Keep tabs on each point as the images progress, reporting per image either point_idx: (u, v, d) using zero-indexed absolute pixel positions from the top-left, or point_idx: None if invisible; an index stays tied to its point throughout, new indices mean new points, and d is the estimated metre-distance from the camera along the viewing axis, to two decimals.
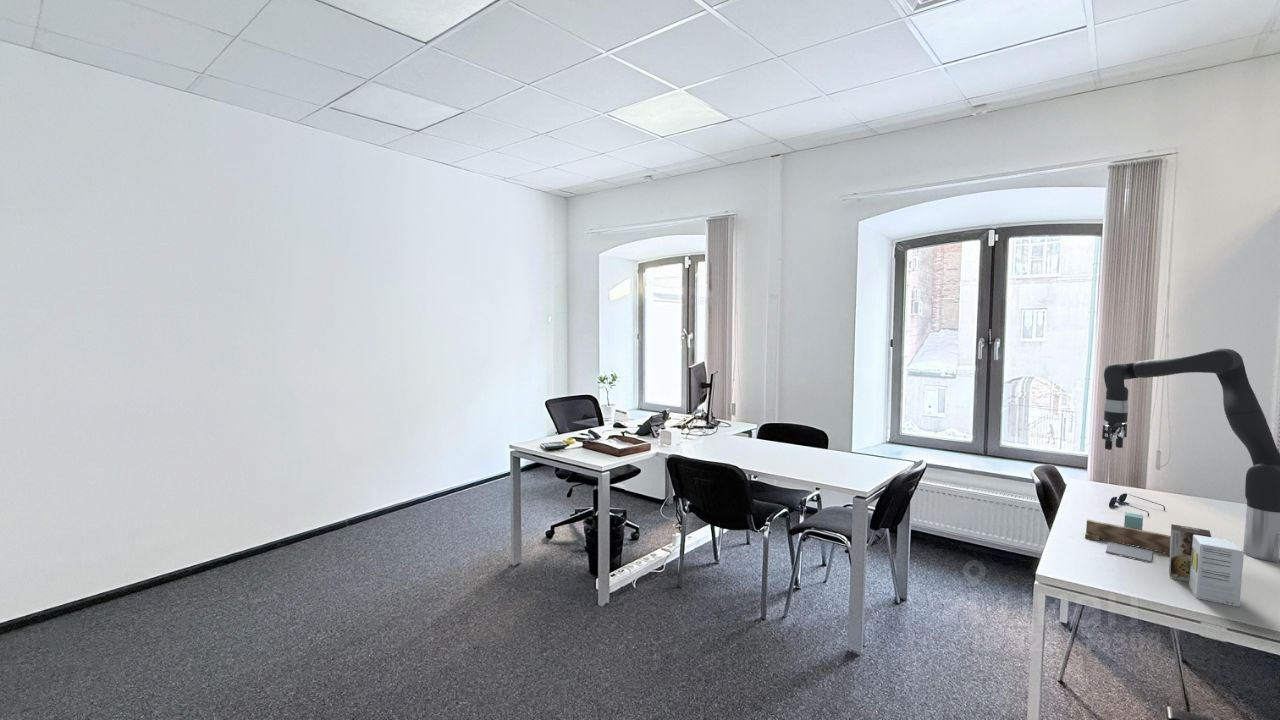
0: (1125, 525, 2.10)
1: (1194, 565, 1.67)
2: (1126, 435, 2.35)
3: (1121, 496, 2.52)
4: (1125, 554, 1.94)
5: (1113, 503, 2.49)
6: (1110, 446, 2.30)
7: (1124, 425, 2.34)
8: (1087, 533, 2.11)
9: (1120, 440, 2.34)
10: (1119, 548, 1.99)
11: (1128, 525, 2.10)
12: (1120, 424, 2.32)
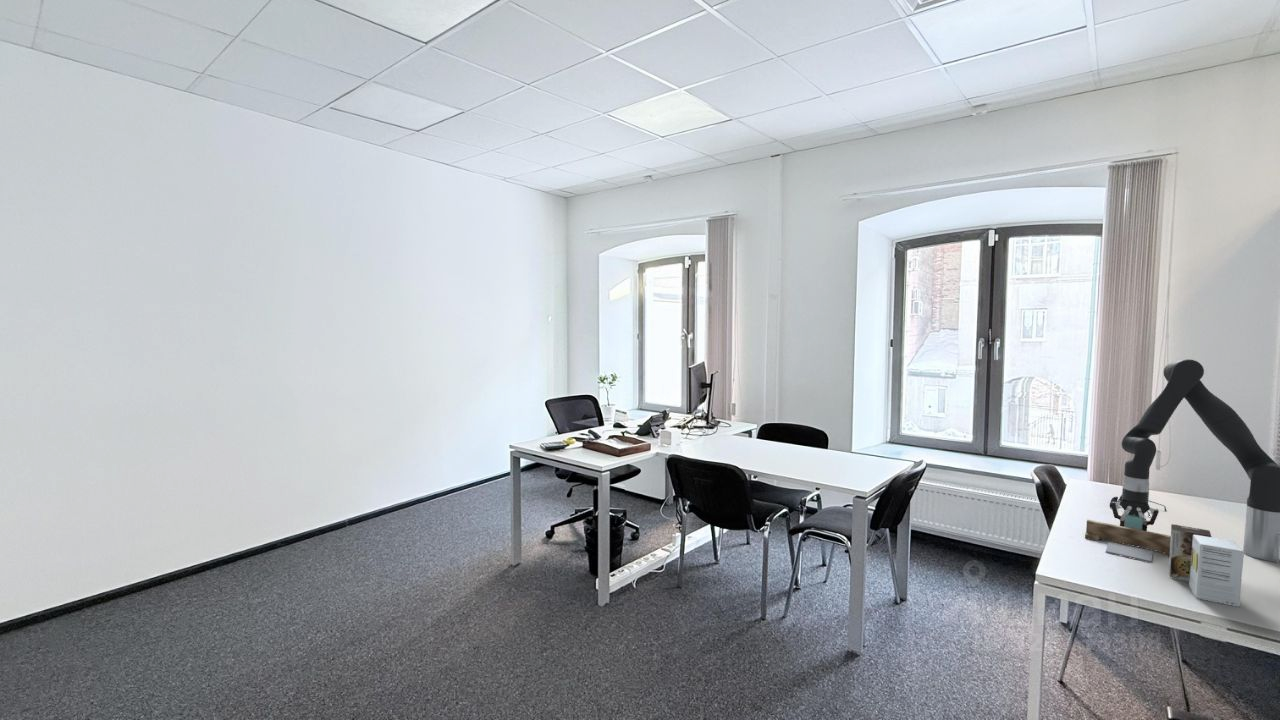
0: (1125, 525, 2.10)
1: (1194, 565, 1.67)
2: None
3: None
4: (1125, 554, 1.94)
5: None
6: None
7: None
8: (1087, 533, 2.11)
9: None
10: (1119, 548, 1.99)
11: (1128, 525, 2.10)
12: None
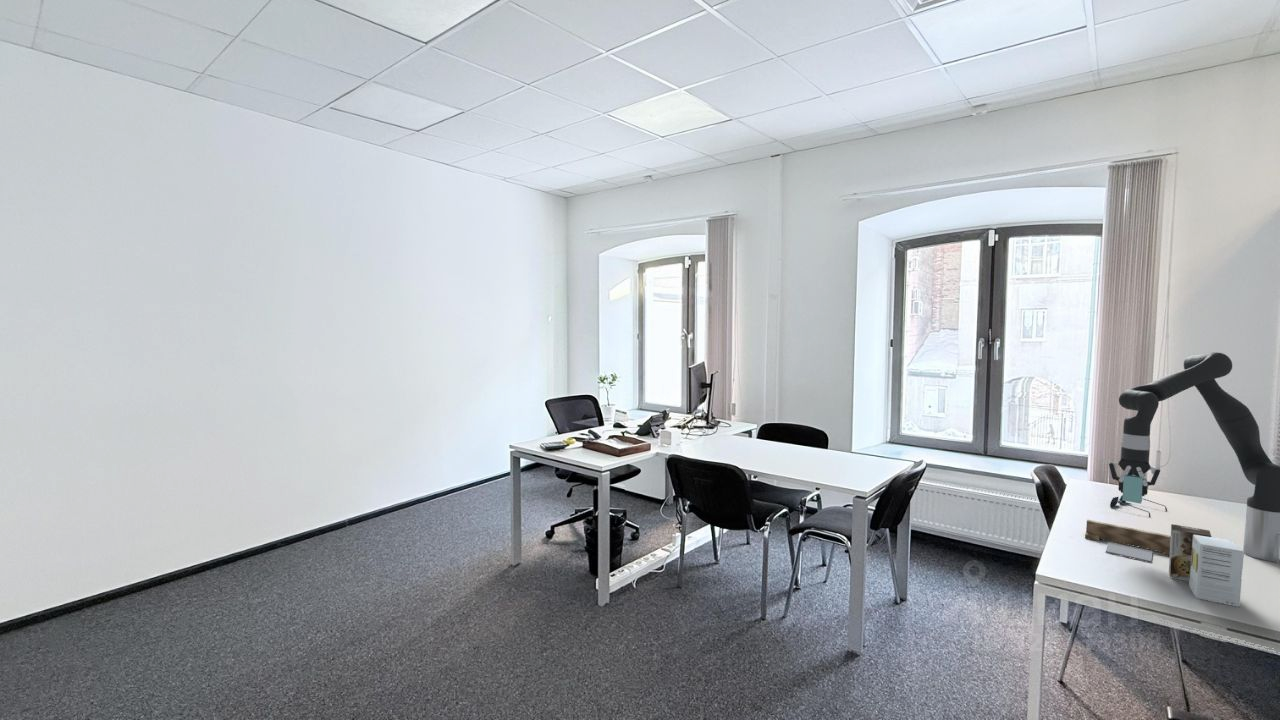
0: (1124, 486, 1.96)
1: (1194, 565, 1.67)
2: None
3: None
4: (1125, 554, 1.94)
5: (1114, 503, 2.49)
6: None
7: None
8: (1087, 533, 2.11)
9: None
10: (1119, 548, 1.99)
11: (1127, 486, 1.95)
12: None
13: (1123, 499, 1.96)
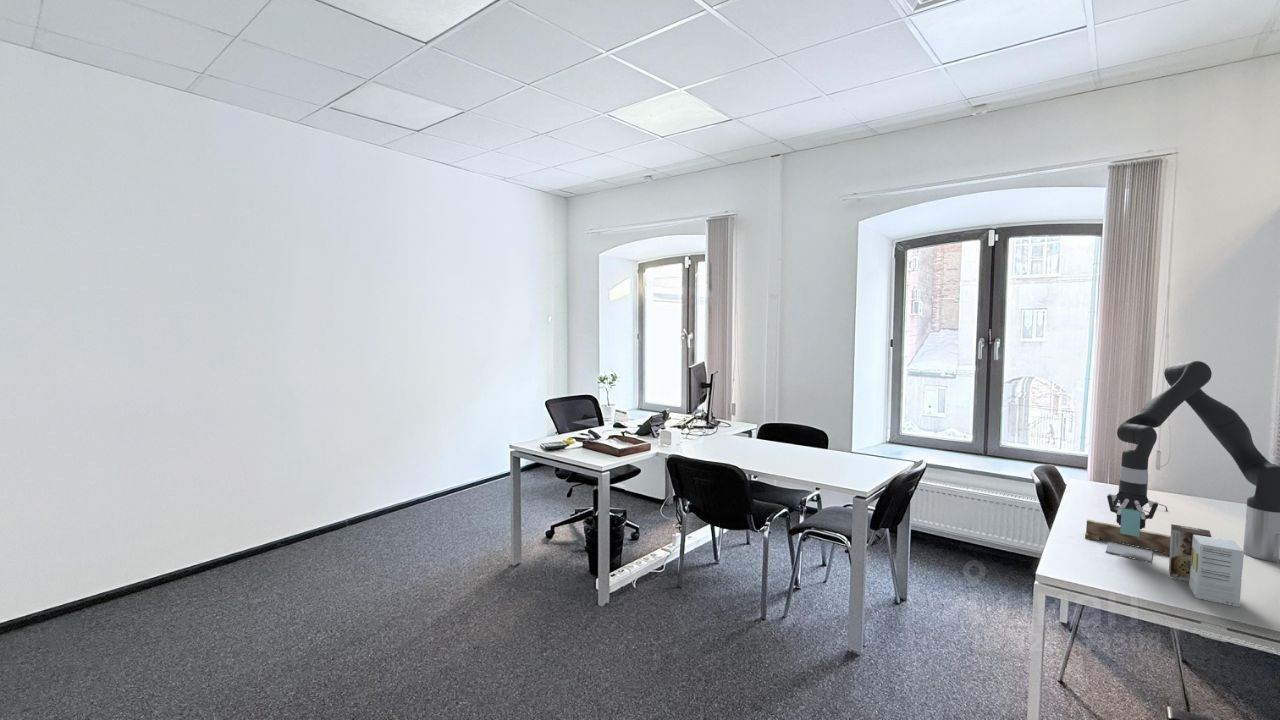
0: (1122, 519, 1.96)
1: (1194, 565, 1.67)
2: None
3: None
4: (1125, 554, 1.94)
5: (1115, 503, 2.48)
6: None
7: None
8: (1087, 533, 2.11)
9: None
10: (1119, 548, 1.99)
11: (1125, 519, 1.96)
12: None
13: (1121, 532, 1.97)
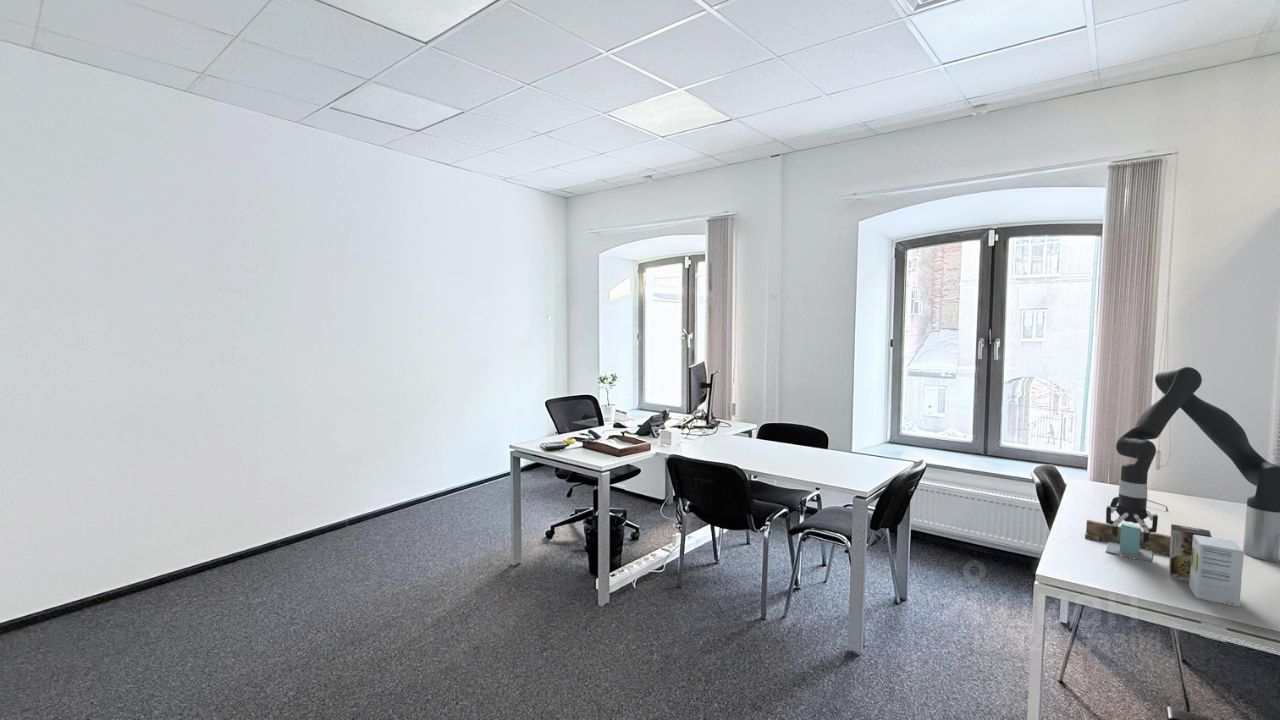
0: (1121, 537, 1.97)
1: (1194, 565, 1.67)
2: None
3: None
4: (1125, 554, 1.94)
5: (1115, 503, 2.48)
6: None
7: None
8: (1087, 533, 2.11)
9: (1117, 528, 1.99)
10: (1119, 548, 1.99)
11: (1124, 537, 1.96)
12: None
13: (1120, 550, 1.97)
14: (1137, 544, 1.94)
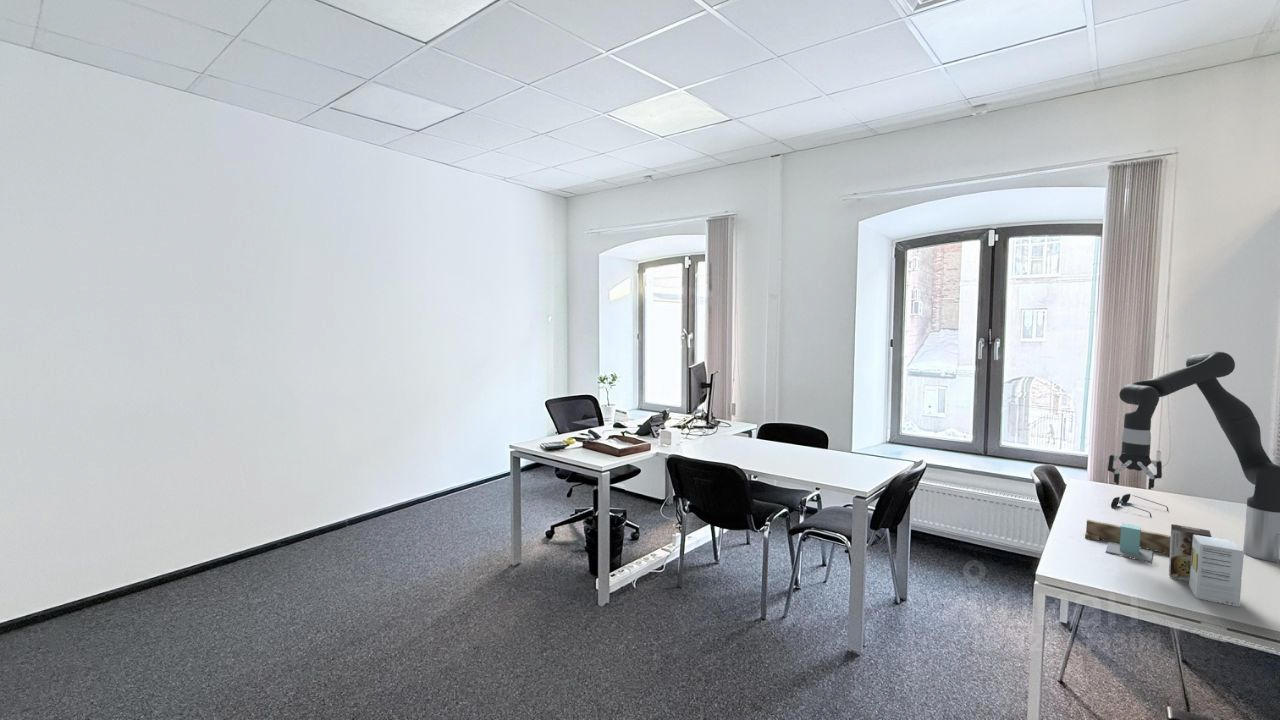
0: (1121, 537, 1.97)
1: (1194, 565, 1.67)
2: None
3: (1124, 496, 2.51)
4: (1125, 554, 1.94)
5: (1115, 503, 2.48)
6: None
7: None
8: (1087, 533, 2.11)
9: (1119, 475, 1.99)
10: (1119, 548, 1.99)
11: (1124, 537, 1.96)
12: None
13: (1120, 550, 1.97)
14: (1137, 544, 1.94)
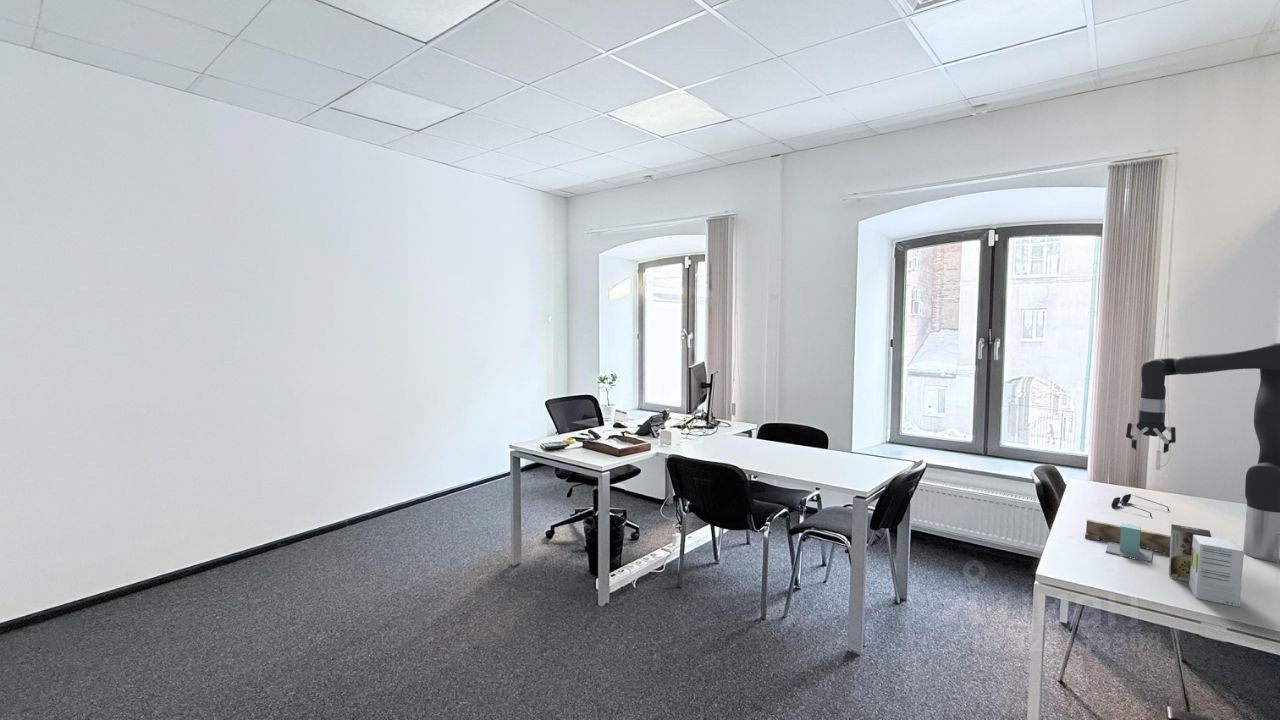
0: (1121, 537, 1.97)
1: (1194, 565, 1.67)
2: None
3: (1125, 497, 2.51)
4: (1125, 554, 1.94)
5: (1116, 503, 2.48)
6: None
7: None
8: (1087, 533, 2.11)
9: (1136, 441, 2.19)
10: (1119, 548, 1.99)
11: (1124, 537, 1.96)
12: None
13: (1120, 550, 1.97)
14: (1137, 544, 1.94)
